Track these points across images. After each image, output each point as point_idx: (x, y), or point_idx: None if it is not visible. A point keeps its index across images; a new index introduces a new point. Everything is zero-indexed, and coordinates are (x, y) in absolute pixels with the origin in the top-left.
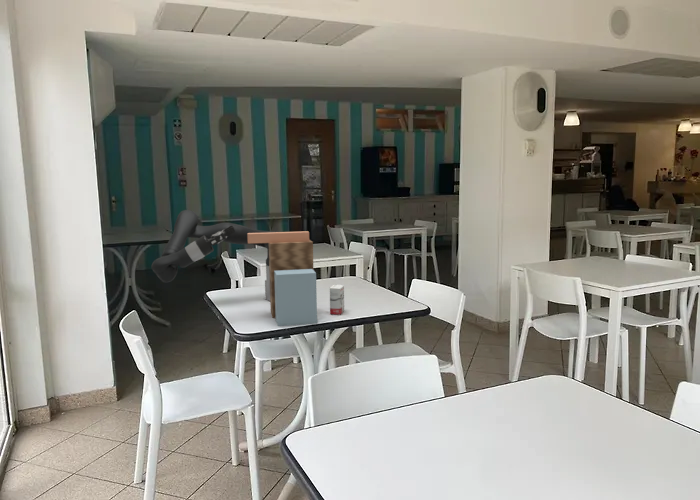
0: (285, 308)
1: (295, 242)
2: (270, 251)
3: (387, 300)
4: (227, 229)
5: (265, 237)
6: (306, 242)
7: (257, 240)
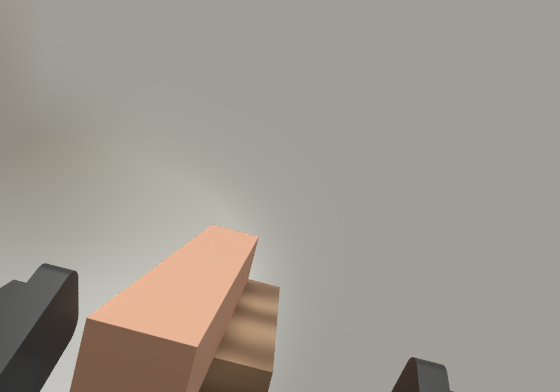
0: None
1: (264, 308)
2: None
3: None
4: (15, 370)
5: (219, 325)
6: (278, 296)
7: (200, 376)
